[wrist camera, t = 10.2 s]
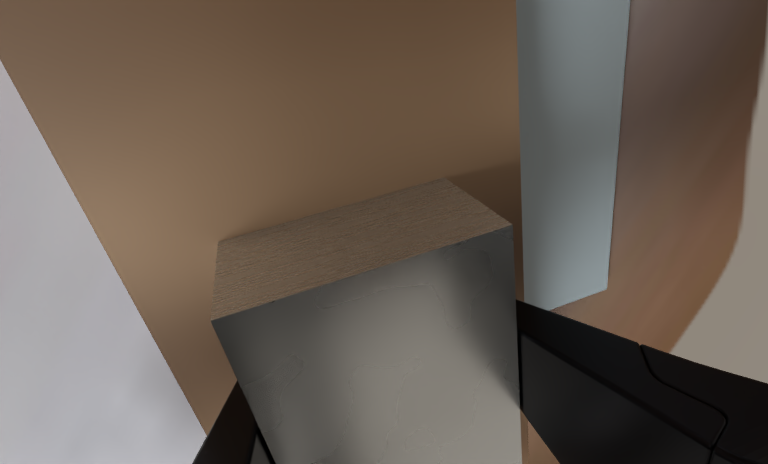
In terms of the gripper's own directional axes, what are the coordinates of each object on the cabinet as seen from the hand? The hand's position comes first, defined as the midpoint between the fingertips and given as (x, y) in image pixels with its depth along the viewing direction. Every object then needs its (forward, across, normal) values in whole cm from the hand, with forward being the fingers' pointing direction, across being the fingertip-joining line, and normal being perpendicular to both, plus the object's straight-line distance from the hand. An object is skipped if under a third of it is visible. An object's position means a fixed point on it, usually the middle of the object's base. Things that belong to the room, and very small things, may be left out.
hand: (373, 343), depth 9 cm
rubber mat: (+4, -7, -1) cm, 8 cm away
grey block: (0, 0, 0) cm, 0 cm away
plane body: (+4, 0, 0) cm, 4 cm away
